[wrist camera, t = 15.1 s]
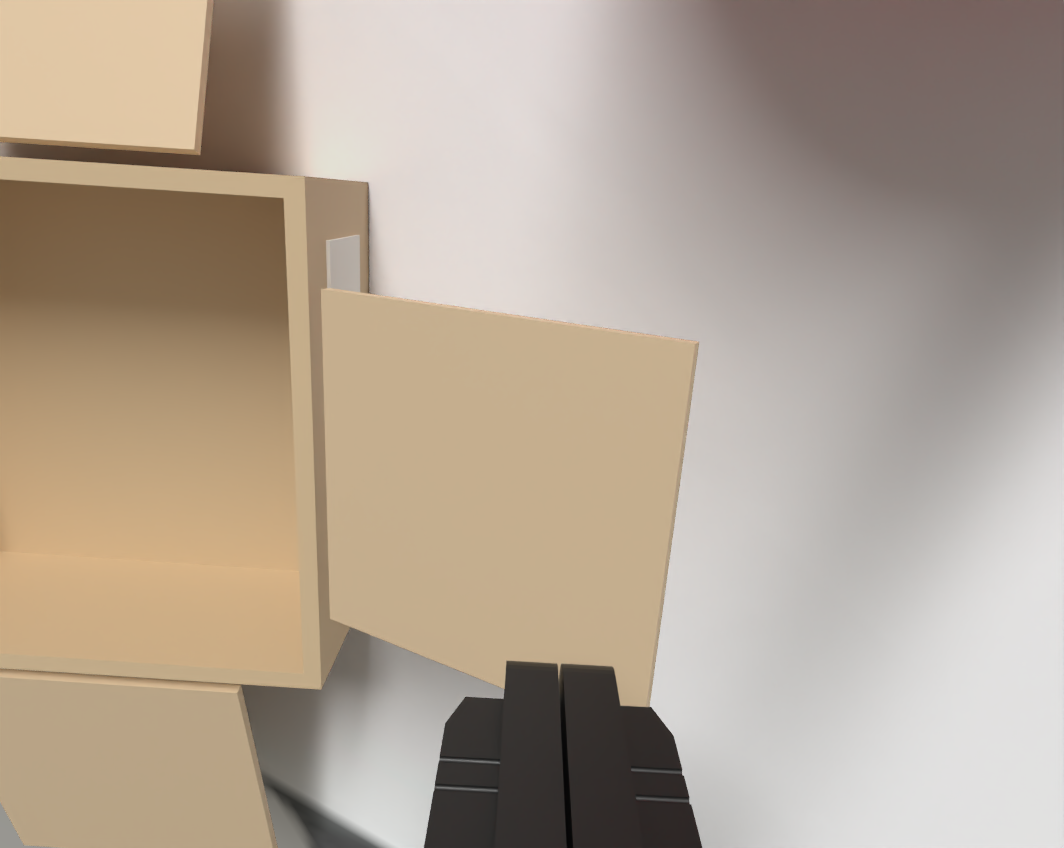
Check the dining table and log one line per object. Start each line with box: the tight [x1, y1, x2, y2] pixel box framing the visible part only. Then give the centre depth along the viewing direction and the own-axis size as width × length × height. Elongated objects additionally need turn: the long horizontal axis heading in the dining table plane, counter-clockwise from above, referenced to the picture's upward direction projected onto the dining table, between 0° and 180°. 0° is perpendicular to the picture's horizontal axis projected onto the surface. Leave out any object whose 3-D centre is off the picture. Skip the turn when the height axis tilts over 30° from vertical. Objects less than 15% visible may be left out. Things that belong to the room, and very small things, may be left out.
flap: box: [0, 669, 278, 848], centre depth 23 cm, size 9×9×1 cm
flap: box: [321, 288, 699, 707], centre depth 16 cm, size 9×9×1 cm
